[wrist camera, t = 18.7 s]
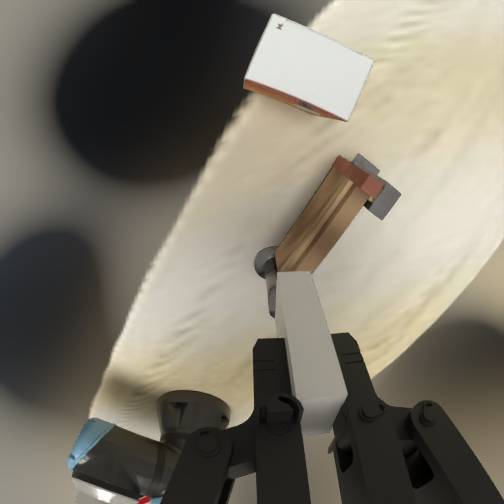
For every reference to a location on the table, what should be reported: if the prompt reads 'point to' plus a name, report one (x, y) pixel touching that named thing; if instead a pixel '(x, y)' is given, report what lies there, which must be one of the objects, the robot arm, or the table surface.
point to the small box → (307, 70)
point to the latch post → (384, 196)
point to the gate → (326, 217)
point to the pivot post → (268, 274)
